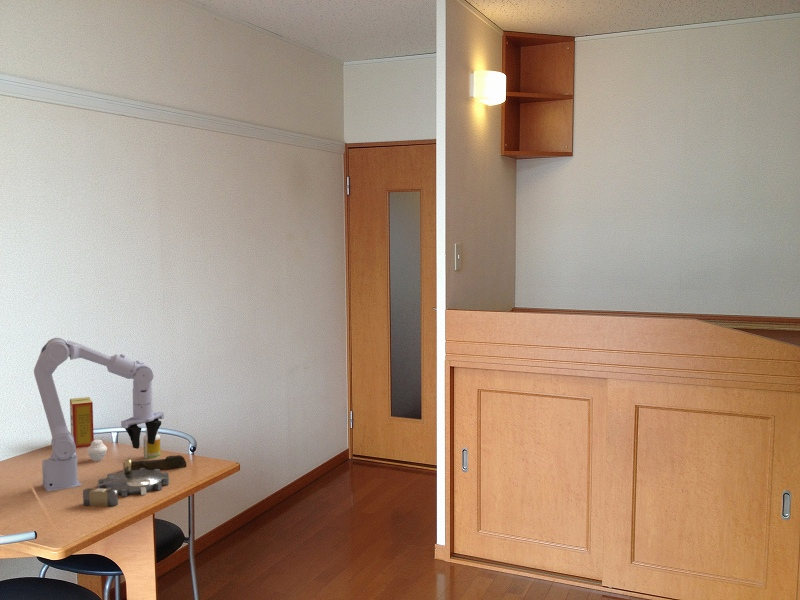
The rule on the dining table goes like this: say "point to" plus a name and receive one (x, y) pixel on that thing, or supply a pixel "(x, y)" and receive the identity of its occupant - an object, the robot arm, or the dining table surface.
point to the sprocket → (134, 480)
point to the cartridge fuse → (100, 497)
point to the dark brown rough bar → (160, 463)
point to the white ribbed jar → (97, 450)
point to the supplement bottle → (152, 447)
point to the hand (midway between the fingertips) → (143, 445)
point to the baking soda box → (82, 421)
